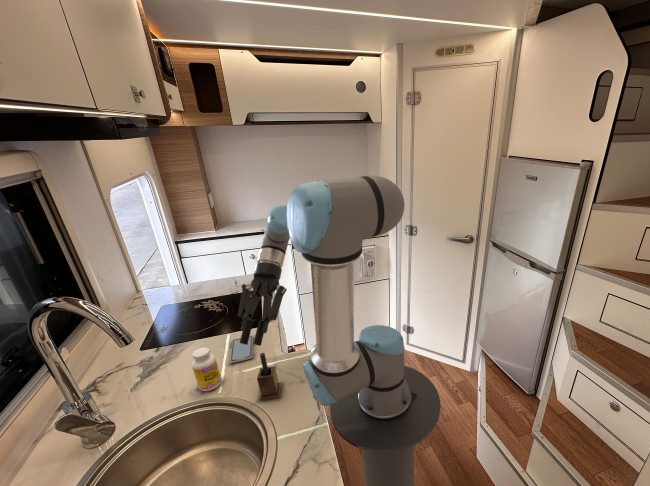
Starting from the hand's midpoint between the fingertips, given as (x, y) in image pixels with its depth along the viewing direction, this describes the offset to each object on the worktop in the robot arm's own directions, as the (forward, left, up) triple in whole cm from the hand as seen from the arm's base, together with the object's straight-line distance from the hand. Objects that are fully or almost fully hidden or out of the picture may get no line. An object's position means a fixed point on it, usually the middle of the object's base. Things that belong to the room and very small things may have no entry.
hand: (250, 344), depth 87 cm
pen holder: (-1, -3, -21) cm, 21 cm away
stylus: (-1, -3, -20) cm, 20 cm away
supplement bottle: (+19, -11, -21) cm, 30 cm away
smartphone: (+13, -28, -21) cm, 37 cm away
